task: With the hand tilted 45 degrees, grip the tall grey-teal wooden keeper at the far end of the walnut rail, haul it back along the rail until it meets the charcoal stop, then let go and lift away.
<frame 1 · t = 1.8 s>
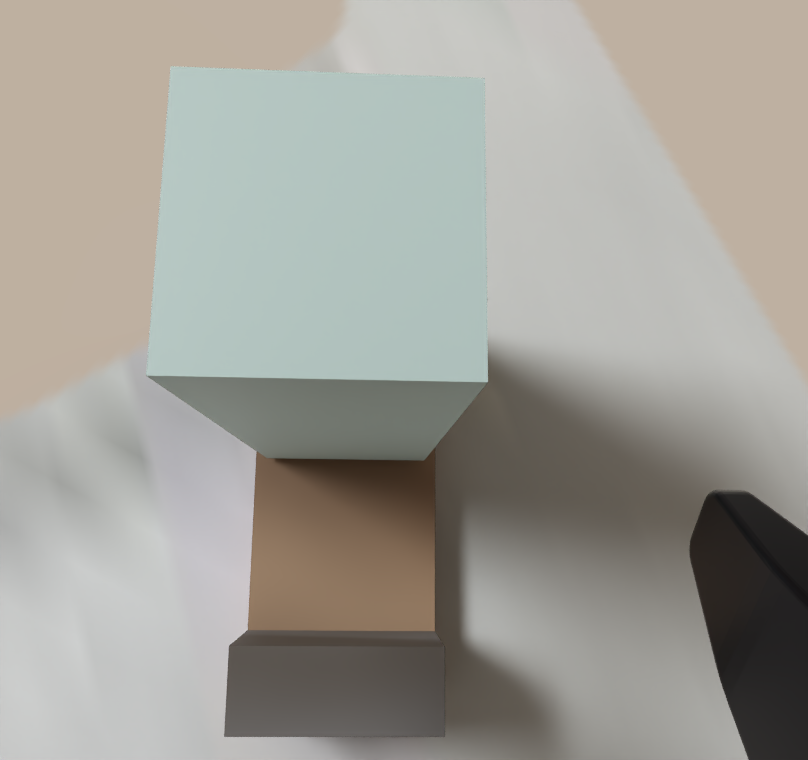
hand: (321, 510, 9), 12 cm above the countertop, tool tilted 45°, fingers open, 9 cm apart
keeper: (340, 330, 14), point 6 cm above the countertop, slide at 0.0 cm
rail: (346, 500, 20), on the countertop
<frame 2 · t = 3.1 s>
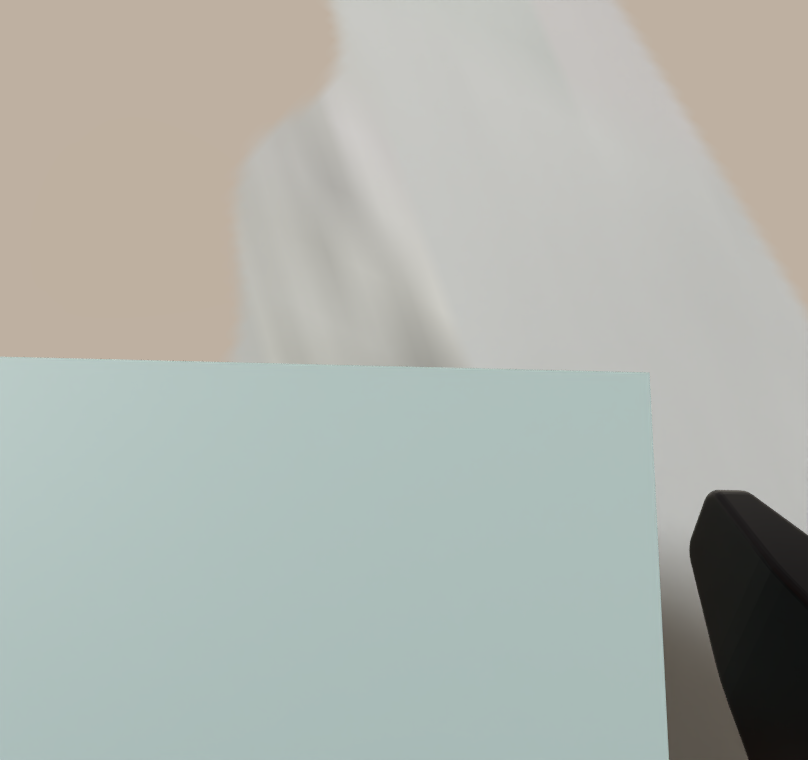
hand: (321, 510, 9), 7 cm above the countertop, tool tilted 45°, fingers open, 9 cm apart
keeper: (319, 631, 9), point 6 cm above the countertop, slide at 0.0 cm
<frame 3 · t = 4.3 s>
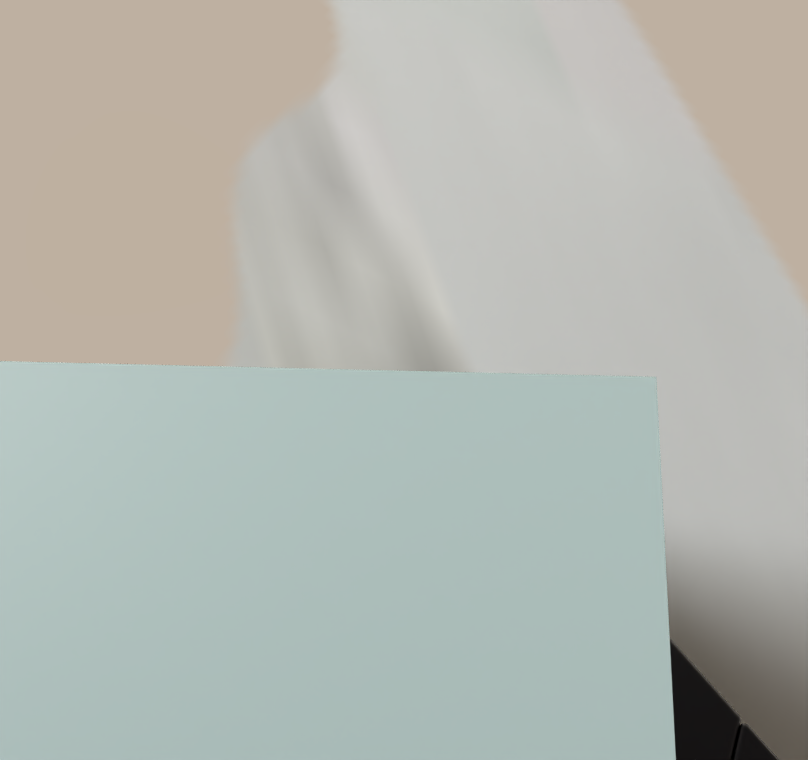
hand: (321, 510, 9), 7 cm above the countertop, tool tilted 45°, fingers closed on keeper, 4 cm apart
keeper: (317, 635, 9), point 6 cm above the countertop, slide at 0.0 cm, touching gripper
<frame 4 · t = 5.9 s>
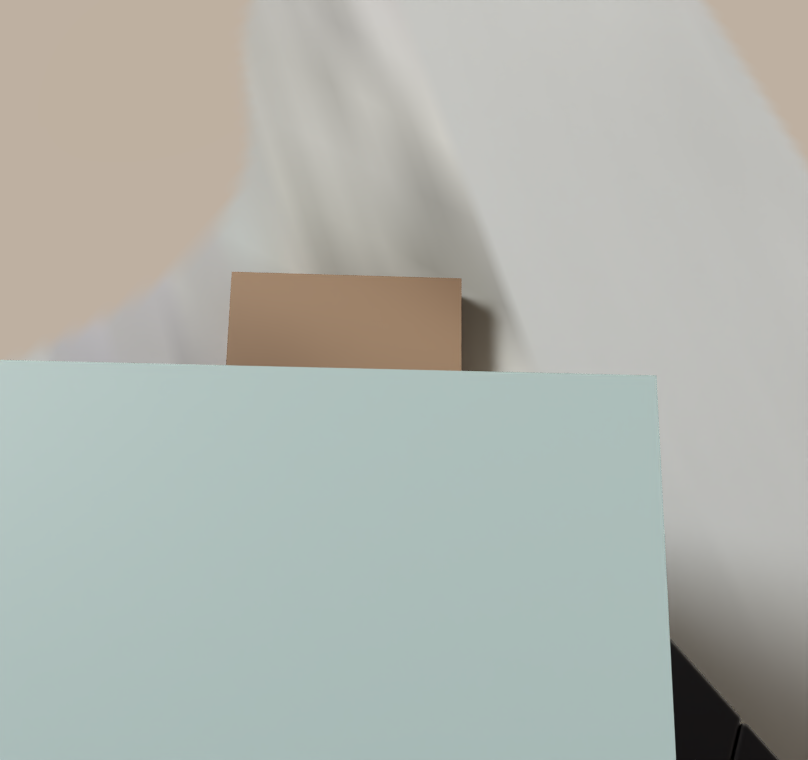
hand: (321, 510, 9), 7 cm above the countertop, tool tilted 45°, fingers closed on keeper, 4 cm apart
keeper: (317, 635, 8), point 6 cm above the countertop, slide at 4.0 cm, touching gripper
rail: (341, 538, 15), on the countertop
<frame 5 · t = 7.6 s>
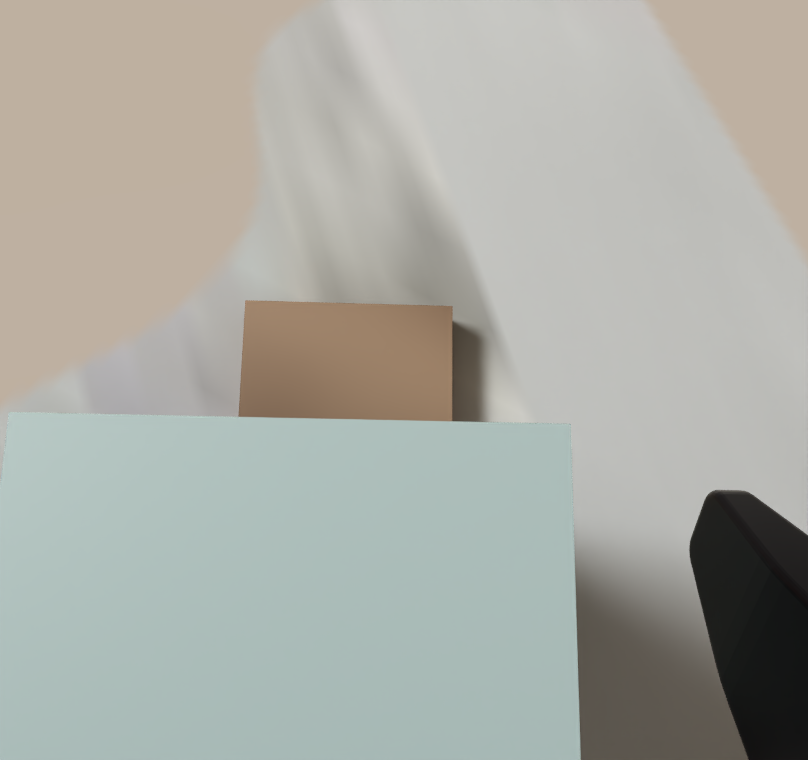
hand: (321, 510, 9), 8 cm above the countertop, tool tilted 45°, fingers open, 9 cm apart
keeper: (325, 621, 10), point 6 cm above the countertop, slide at 4.0 cm
rail: (343, 541, 17), on the countertop
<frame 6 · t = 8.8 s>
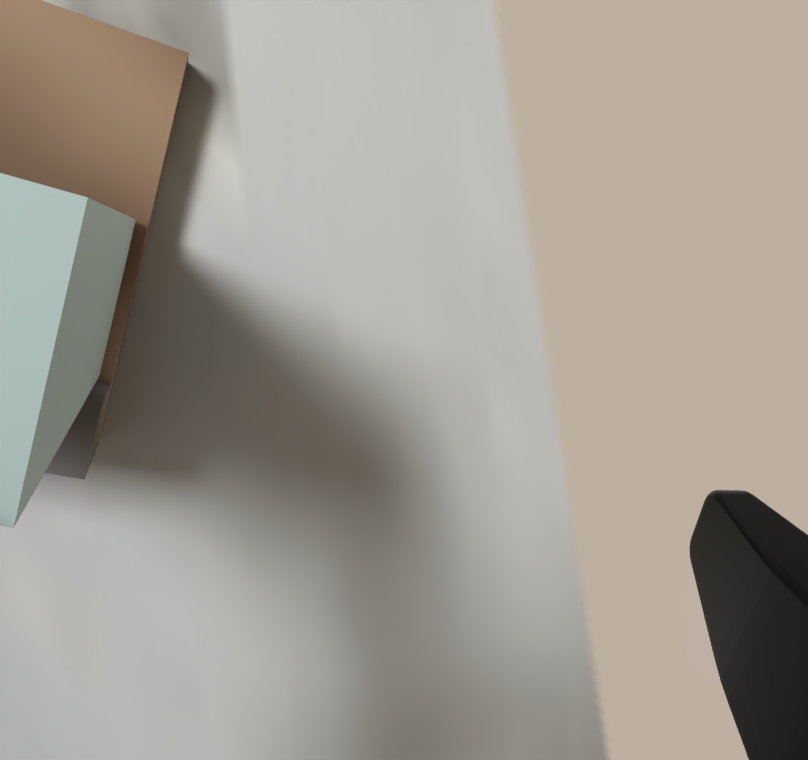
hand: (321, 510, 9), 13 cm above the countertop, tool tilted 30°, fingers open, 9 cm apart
rail: (48, 235, 19), on the countertop
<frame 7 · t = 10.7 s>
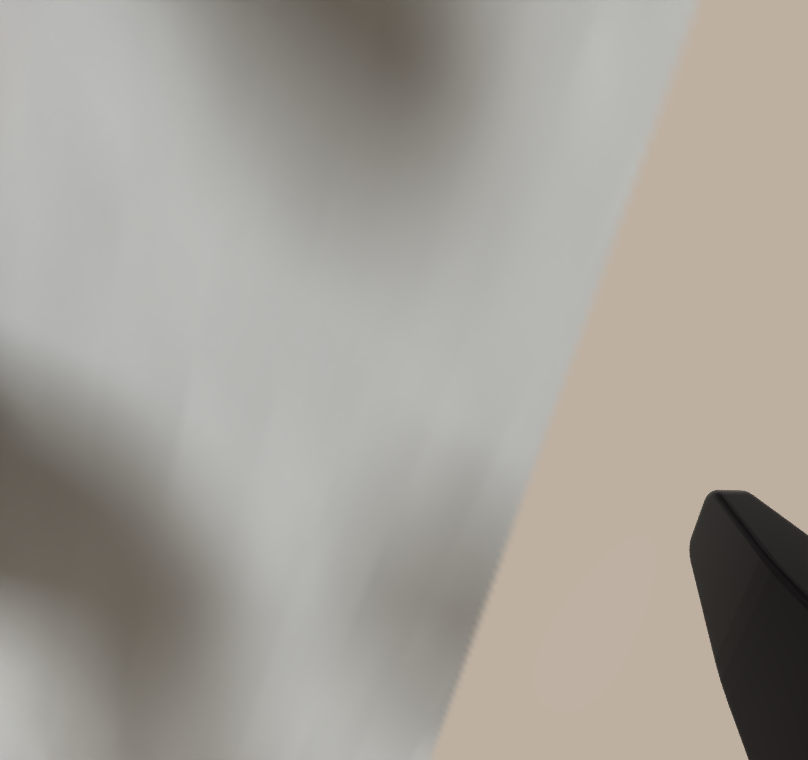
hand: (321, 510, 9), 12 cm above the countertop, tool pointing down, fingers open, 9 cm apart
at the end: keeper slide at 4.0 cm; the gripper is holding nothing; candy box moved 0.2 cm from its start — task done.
